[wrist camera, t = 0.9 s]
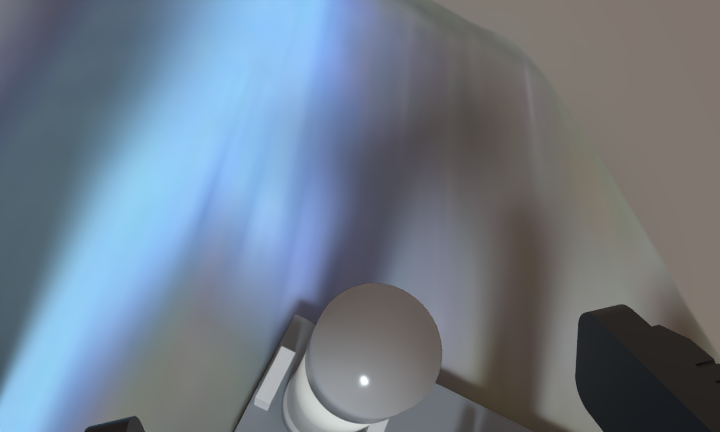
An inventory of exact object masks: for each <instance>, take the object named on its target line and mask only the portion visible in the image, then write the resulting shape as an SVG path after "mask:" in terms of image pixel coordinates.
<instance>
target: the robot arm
mask: <svg viewBox="0 0 720 432" xmlns="http://www.w3.org/2000/svg"><path fill="white" fill-rule="evenodd" d="M575 379H576V386H577V390H578V393H579V396H580V398H581V401H582V403H583V405H584V406H585V408H586V410H587V411H588V412H589V414H590V415H591V416H592V418H593V419H594V420H595V421H596V423H597V424H598V425H599V427H600V428H601V429H602V430H603V432H720V364H716V363H715V361H714V359H713V358H712V357H711V356H709V355H708V354H707V353H706V352H705V351H703V350H702V349H701V348H700V347H699V346H697V345H696V344H695V343H694V342H693V341H691V340H690V339H688V338H686V337H684V336H682V335H680V334H677V333H675V332H673V331H671V330H669V329H667V328H665V327H663V326H661V325H657V326H650V325H649V324H648V323H647V322H646V321H645V320H644V319H642V318H641V317H640V316H639V315H638V314H637V313H636V312H634V311H633V310H632V309H631V308H630V307H628V306H626V305H623V304H621V305H616V306H611V307H607V308H603V309H599V310H594V311H590V312H586V313H583V314H582V315H581V316H580V318H579V323H578V338H577V356H576V373H575ZM84 432H145V431H144V429H143V426H142V424H141V422H140V420H139V419H138V418H137V417H136V416H133V417H128V418H124V419H120V420H115V421H111V422H107V423H102V424H98V425H94V426H90V427H88V428H87V429H86V430H85V431H84Z"/></svg>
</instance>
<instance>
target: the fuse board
mask: <svg viewBox="0 0 720 432" xmlns="http://www.w3.org/2000/svg"><path fill="white" fill-rule="evenodd" d="M315 326H316V324H315V323H313V322H311V321H309V320H307V319H305V318H303V317H301V316H299V315H297V314H295V316H294V318H293V320H292V321H291V323H290V325H289V327H288V329H287V331H286V333H285V335H284V337H283V339H282V341H281V343H280V345H279V347H278V348H277V350H276V352H275V354H274V356H273V358H272V360H271V362H270V364H269V366H268V368H267V370H266V372H265V374H264V376H263V377H262V379H261V381H260V383H259V385H258V387H257V389H256V391H255V393H254V395H253V397H252V399H251V401H250V403H249V404H248V406H247V408H246V410H245V412H244V414H243V416H242V418H241V420H240V422H239V424H238V426H237V428H236V430H235V432H288V431H287V429H286V427H285V425H284V422H283V419H282V414H281V403H282V397H283V394H284V392H285V389H286V387H287V385H288V383H289V381H290V379H291V377H292V376H293V374H294V373H295V372H296V371H297V369H298V367H299V365H300V363H301V361H302V359H303V357H304V355H305V353H306V348H307V345H308V342H309V339H310V337H311V335H312V332H313V330H314V328H315ZM357 432H534V431H532V430H529V429H527V428H525V427H523V426H521V425H519V424H517V423H515V422H513V421H511V420H509V419H507V418H505V417H503V416H501V415H499V414H497V413H495V412H493V411H491V410H489V409H487V408H485V407H483V406H481V405H479V404H477V403H475V402H473V401H471V400H469V399H467V398H465V397H463V396H461V395H459V394H457V393H455V392H453V391H451V390H449V389H447V388H445V387H442V386H440V385H438V384H436V383H435V384H434V385H433V387H432V389H431V390H430V391H429V393H428V394H427V395H426V396H425V397H424V398H423V399H422V400H421V401H420V402H419V403H417V404H416V405H414V406H413V407H411V408H409V409H407V410H405V411H403V412H401V413H399V414H397V415H395V416H393V417H391V418H389V419H387V420H384V421H381V422H378V423H373V424H371V425H369V426H367V427H365V428H363V429H361V430H359V431H357Z"/></svg>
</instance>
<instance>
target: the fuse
mask: <svg viewBox="0 0 720 432" xmlns="http://www.w3.org/2000/svg"><path fill="white" fill-rule="evenodd" d="M441 361H442V345H441V339H440V335H439V331H438V329H437V326H436V324H435V322H434V320H433V318H432V316H431V315H430V313H429V312H428V310H427V309H426V308H425V307H424V306H423V304H421V303H420V302H419V301H418V300H417V299H416V298H415V297H413V296H412V295H411V294H409V293H407V292H406V291H404V290H402V289H399V288H397V287H395V286H391V285H387V284H381V283H367V284H361V285H357V286H354V287H351V288H349V289H347V290H345V291H343V292H341V293H340V294H339V295H337V296H336V297H335V298H334V299H333V300H332V301H331V302H330V303H329V304H328V305H327V306H326V308H325V309H324V311H323V312H322V314H321V316H320V318H319V320H318V322H317V324H316V326H315V328H314V330H313V332H312V335H311V337H310V339H309V342H308V345H307V348H306V353H305V355H304V357H303V359H302V361H301V363H300V365H299V367H298V369H297V371H296V372H295V373H294V374H293V376H292V377H291V379H290V381H289V383H288V385H287V387H286V389H285V392H284V394H283V397H282V403H281V414H282V419H283V422H284V425H285V427H286V429H287V431H288V432H357V431H359V430H361V429H363V428H365V427H367V426H369V425H371V424H373V423H378V422H381V421H384V420H387V419H389V418H391V417H393V416H395V415H397V414H399V413H401V412H403V411H405V410H407V409H409V408H411V407H413V406H414V405H416V404H417V403H419V402H420V401H421V400H422V399H423V398H424V397H425V396H426V395H427V394H428V393H429V391H430V390H431V389H432V387H433V385H434V384H435V382H436V379H437V377H438V375H439V371H440V368H441Z"/></svg>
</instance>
